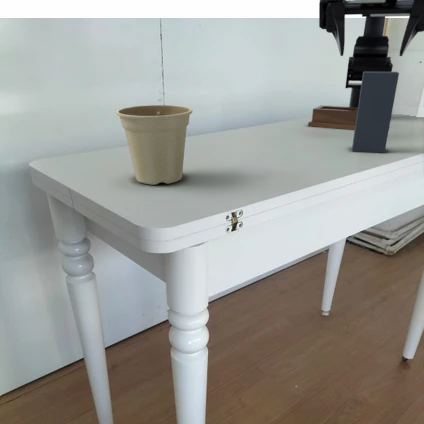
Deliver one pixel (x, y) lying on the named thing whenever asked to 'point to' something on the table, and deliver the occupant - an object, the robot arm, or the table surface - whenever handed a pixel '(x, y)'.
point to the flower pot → (156, 141)
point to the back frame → (334, 117)
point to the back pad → (374, 111)
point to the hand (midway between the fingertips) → (371, 54)
